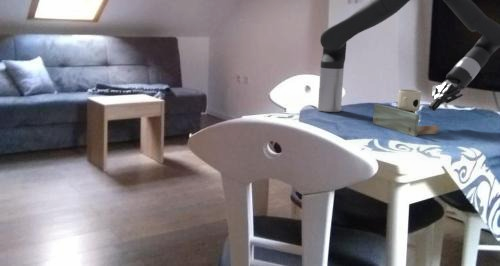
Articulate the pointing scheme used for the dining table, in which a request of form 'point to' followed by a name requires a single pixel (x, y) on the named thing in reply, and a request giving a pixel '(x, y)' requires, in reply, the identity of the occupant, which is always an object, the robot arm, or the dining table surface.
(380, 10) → the robot arm
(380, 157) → the dining table surface
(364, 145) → the dining table surface
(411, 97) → the character mug
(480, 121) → the dining table surface
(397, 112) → the oak dock
